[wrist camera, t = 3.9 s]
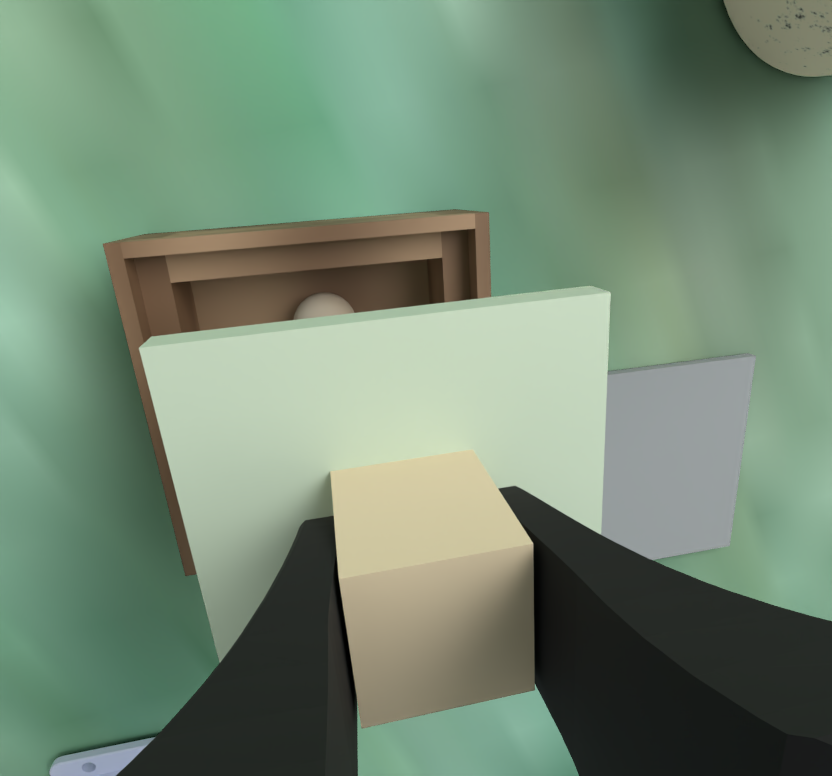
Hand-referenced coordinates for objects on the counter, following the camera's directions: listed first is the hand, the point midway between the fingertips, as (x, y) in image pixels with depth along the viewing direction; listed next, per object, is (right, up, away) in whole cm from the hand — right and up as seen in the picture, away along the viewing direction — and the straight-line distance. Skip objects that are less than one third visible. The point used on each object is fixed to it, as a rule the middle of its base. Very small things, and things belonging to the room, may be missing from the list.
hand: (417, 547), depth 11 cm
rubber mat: (+9, 0, +13) cm, 16 cm away
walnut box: (-3, +4, +9) cm, 11 cm away
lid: (0, +1, +1) cm, 2 cm away
